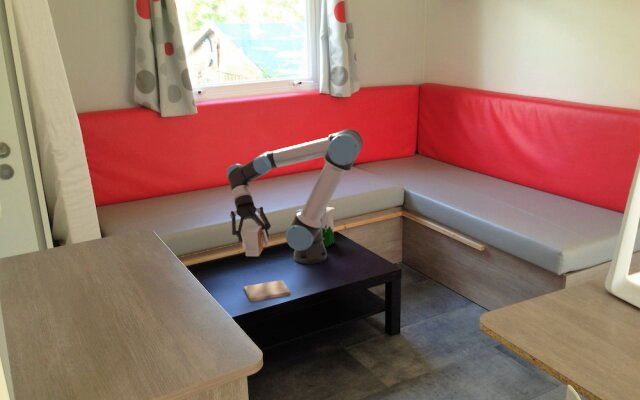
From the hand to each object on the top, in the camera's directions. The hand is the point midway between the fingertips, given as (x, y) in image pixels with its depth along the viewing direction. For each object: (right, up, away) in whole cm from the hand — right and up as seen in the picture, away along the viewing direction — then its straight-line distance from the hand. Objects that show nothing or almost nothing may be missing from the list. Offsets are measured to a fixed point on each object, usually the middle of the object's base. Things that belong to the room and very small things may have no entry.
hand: (256, 246), depth 220 cm
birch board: (+4, -18, -1) cm, 18 cm away
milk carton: (+28, -3, +48) cm, 56 cm away
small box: (-1, -3, +4) cm, 5 cm away
